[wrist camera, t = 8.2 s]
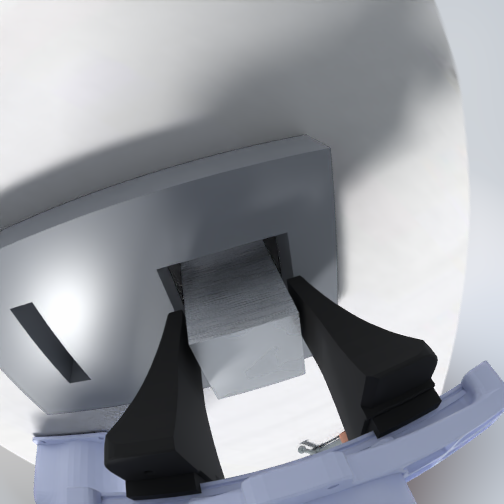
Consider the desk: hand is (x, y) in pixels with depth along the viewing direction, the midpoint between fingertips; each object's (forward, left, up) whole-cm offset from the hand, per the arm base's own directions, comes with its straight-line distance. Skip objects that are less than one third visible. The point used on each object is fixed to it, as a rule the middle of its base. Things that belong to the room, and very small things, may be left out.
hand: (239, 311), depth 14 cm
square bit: (0, 0, -3) cm, 3 cm away
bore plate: (-5, 0, -3) cm, 6 cm away
